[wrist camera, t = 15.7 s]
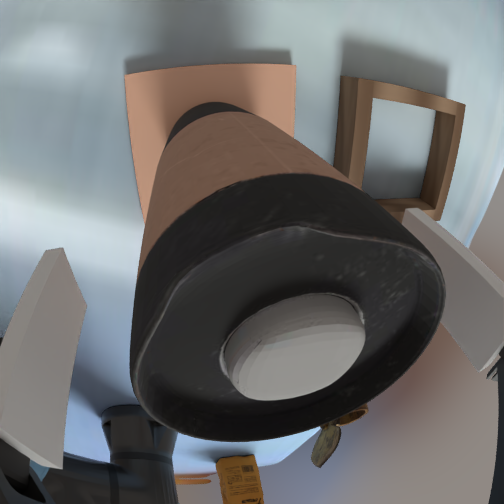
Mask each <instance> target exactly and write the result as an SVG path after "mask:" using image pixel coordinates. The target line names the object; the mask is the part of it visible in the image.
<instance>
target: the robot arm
mask: <svg viewBox="0 0 504 504" xmlns="http://www.w3.org/2000/svg"><path fill="white" fill-rule="evenodd" d="M402 225H403V226H404V227H405V228H406V229H408V230H409V231H410V232H411V233H412V234H413V235H414V236H415V237H416V238H417V239H418V240H419V241H420V242H421V243H422V244H423V245H424V246H425V247H426V248H427V249H428V250H429V251H430V253H431V254H432V255H433V257H434V258H435V260H436V262H437V263H438V265H439V267H440V268H441V271H442V274H443V277H444V281H445V286H446V300H445V308H444V311H443V315H442V319H441V323H442V324H443V325H444V326H445V328H446V329H447V330H448V332H449V333H450V334H451V336H452V337H453V338H454V340H455V341H456V342H457V343H458V345H459V346H460V348H461V349H462V350H463V352H464V353H465V354H466V356H467V357H468V359H469V360H470V361H471V363H472V364H473V366H474V367H475V369H476V370H477V371H478V372H480V371H482V370H483V369H484V368H486V367H487V366H489V365H490V364H491V362H492V361H493V360H494V358H495V357H496V356H497V355H498V354H499V355H500V356H501V358H500V359H499V360H498V361H497V363H496V364H495V365H494V366H493V367H492V369H491V370H490V371H489V372H488V374H487V379H489V378H490V377H491V376H492V375H493V374H494V373H495V372H496V371H497V373H496V374H495V375H494V376H493V377H492V380H494V381H498V395H499V418H498V419H499V420H498V440H497V452H496V462H495V470H494V477H493V483H492V489H491V494H490V499H489V504H504V283H503V281H501V279H500V278H498V276H497V275H495V273H493V272H492V271H491V270H490V269H489V268H488V267H487V266H486V265H485V264H484V263H483V262H482V261H481V260H480V259H479V258H478V257H476V256H475V255H474V254H473V253H472V252H471V251H470V250H469V249H468V248H467V247H465V246H464V245H463V244H462V243H461V242H460V241H459V240H457V239H456V238H455V237H454V236H453V235H451V234H450V233H449V232H448V231H447V230H445V229H444V228H443V227H442V226H441V225H439V224H438V223H437V222H436V221H434V220H433V219H432V218H431V217H429V216H428V215H427V214H425V213H424V212H423V211H422V210H420V209H419V208H408V209H405V213H404V217H403V221H402ZM86 308H87V305H86V302H85V300H84V298H83V296H82V294H81V291H80V289H79V287H78V284H77V282H76V280H75V277H74V275H73V272H72V270H71V267H70V265H69V262H68V260H67V257H66V254H65V252H64V249H63V248H57V249H51V250H46V251H45V252H44V254H43V256H42V258H41V260H40V261H39V263H38V265H37V267H36V269H35V271H34V272H33V274H32V276H31V278H30V280H29V282H28V284H27V286H26V288H25V290H24V292H23V294H22V296H21V299H20V301H19V303H18V305H17V307H16V309H15V312H14V314H13V316H12V319H11V321H10V323H9V326H8V328H7V331H6V333H5V336H4V338H0V504H179V503H178V497H177V491H176V484H175V477H174V470H173V463H172V454H173V451H174V447H175V443H176V439H177V435H178V432H176V431H174V430H172V429H169V428H167V427H166V426H164V425H162V424H160V423H159V422H157V421H156V420H155V419H153V418H152V417H151V416H150V415H148V413H147V412H146V411H145V410H144V409H143V408H142V406H134V405H124V406H115V407H111V408H108V409H106V410H105V411H104V412H103V413H102V429H103V432H104V435H105V438H106V441H107V445H108V448H109V450H110V463H107V462H102V461H98V460H94V459H89V458H85V457H81V456H78V455H74V454H70V453H67V452H64V451H63V449H64V435H65V424H66V414H67V406H68V398H69V391H70V385H71V378H72V373H73V367H74V361H75V356H76V351H77V346H78V342H79V337H80V333H81V328H82V324H83V320H84V316H85V312H86Z"/></svg>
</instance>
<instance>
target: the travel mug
mask: <svg viewBox="0 0 504 504" xmlns="http://www.w3.org/2000/svg"><path fill="white" fill-rule="evenodd" d="M445 300H446V286H445V281H444V277H443V274H442V271H441V268H440V267H439V265H438V263H437V262H436V260H435V258H434V257H433V255H432V254H431V253H430V251H429V250H428V249H427V248H426V247H425V246H424V245H423V244H422V243H421V242H420V241H419V240H418V239H417V238H416V237H415V236H414V235H413V234H412V233H411V232H410V231H409V230H408V229H406V228H405V227H404V226H403V225H402V224H401V223H400V222H399V221H398V220H397V219H395V218H394V217H393V216H392V215H391V214H390V213H389V212H388V211H386V210H385V209H384V208H383V207H382V206H381V205H380V204H378V203H377V202H376V201H375V200H374V199H372V198H371V197H370V196H369V195H368V194H366V193H365V192H364V191H363V190H362V189H360V188H359V187H358V186H357V185H356V184H354V183H353V182H352V181H351V180H349V179H348V178H347V177H346V176H344V175H343V174H342V173H340V172H339V171H338V170H337V169H335V168H334V167H333V166H331V165H330V164H329V163H327V162H326V161H325V160H323V159H322V158H321V157H319V156H318V155H317V154H315V153H314V152H313V151H311V150H310V149H308V148H307V147H306V146H304V145H303V144H301V143H300V142H299V141H297V140H296V139H294V138H293V137H291V136H290V135H288V134H287V133H286V132H284V131H283V130H281V129H280V128H278V127H277V126H275V125H274V124H272V123H270V122H269V121H267V120H265V119H263V118H261V117H259V116H257V115H255V114H253V113H250V112H248V111H246V110H244V109H242V108H239V107H237V106H235V105H232V104H228V103H224V102H208V103H203V104H200V105H197V106H195V107H193V108H191V109H190V110H188V111H187V112H185V113H184V114H183V115H182V116H181V117H180V118H179V119H178V121H177V122H176V123H175V125H174V127H173V128H172V130H171V133H170V135H169V137H168V140H167V142H166V145H165V147H164V150H163V152H162V155H161V157H160V160H159V163H158V166H157V170H156V174H155V179H154V183H153V188H152V193H151V197H150V202H149V207H148V212H147V218H146V223H145V229H144V235H143V241H142V247H141V253H140V260H139V267H138V274H137V282H136V290H135V298H134V308H133V318H132V329H131V342H130V378H131V383H132V387H133V391H134V394H135V396H136V398H137V399H138V401H139V403H140V405H141V406H142V408H143V409H144V410H145V411H146V412H147V413H148V415H150V416H151V417H152V418H153V419H155V420H156V421H157V422H159V423H160V424H162V425H164V426H166V427H167V428H169V429H172V430H174V431H176V432H179V433H181V434H184V435H188V436H191V437H195V438H200V439H205V440H212V441H221V442H250V441H261V440H268V439H275V438H280V437H285V436H289V435H293V434H297V433H300V432H304V431H307V430H310V429H313V428H316V427H319V426H321V425H324V424H326V423H329V422H331V421H334V420H336V419H338V418H340V417H342V416H344V415H346V414H348V413H350V412H352V411H354V410H356V409H358V408H359V407H361V406H363V405H364V404H366V403H367V402H369V401H371V400H372V399H374V398H375V397H376V396H378V395H379V394H381V393H382V392H383V391H385V390H386V389H387V388H388V387H390V386H391V385H392V384H394V383H395V382H396V381H397V380H398V379H399V378H400V377H401V376H402V375H403V374H405V372H406V371H407V370H408V369H409V368H410V367H411V366H412V365H413V364H414V363H415V362H416V361H417V359H418V358H419V357H420V356H421V354H422V353H423V352H424V350H425V349H426V347H427V346H428V344H429V343H430V341H431V340H432V338H433V336H434V334H435V332H436V330H437V328H438V326H439V323H440V321H441V319H442V315H443V311H444V308H445Z"/></svg>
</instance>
